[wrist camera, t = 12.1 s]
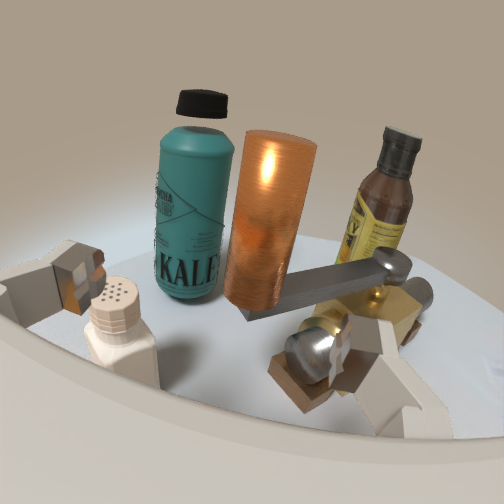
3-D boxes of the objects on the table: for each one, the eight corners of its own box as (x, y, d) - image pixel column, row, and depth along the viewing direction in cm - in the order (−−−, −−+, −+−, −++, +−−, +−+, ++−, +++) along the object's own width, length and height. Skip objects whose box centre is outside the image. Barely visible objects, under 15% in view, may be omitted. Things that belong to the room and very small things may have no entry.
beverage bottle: (185, 266, 37) (202, 87, 27) (229, 293, 34) (261, 96, 24) (141, 289, 32) (146, 86, 22) (185, 322, 29) (205, 92, 19)
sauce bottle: (334, 269, 42) (377, 120, 31) (377, 285, 40) (429, 138, 30) (322, 294, 36) (373, 121, 26) (371, 313, 34) (436, 143, 24)
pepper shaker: (163, 394, 22) (158, 300, 17) (119, 415, 19) (92, 325, 14) (138, 359, 24) (128, 265, 19) (96, 377, 22) (71, 283, 17)
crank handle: (384, 259, 25) (421, 154, 20) (412, 281, 23) (456, 171, 18) (211, 295, 18) (233, 127, 13) (236, 335, 15) (270, 145, 11)
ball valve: (385, 306, 36) (416, 238, 31) (422, 336, 32) (460, 267, 27) (264, 367, 26) (290, 277, 21) (308, 418, 22) (354, 334, 17)
